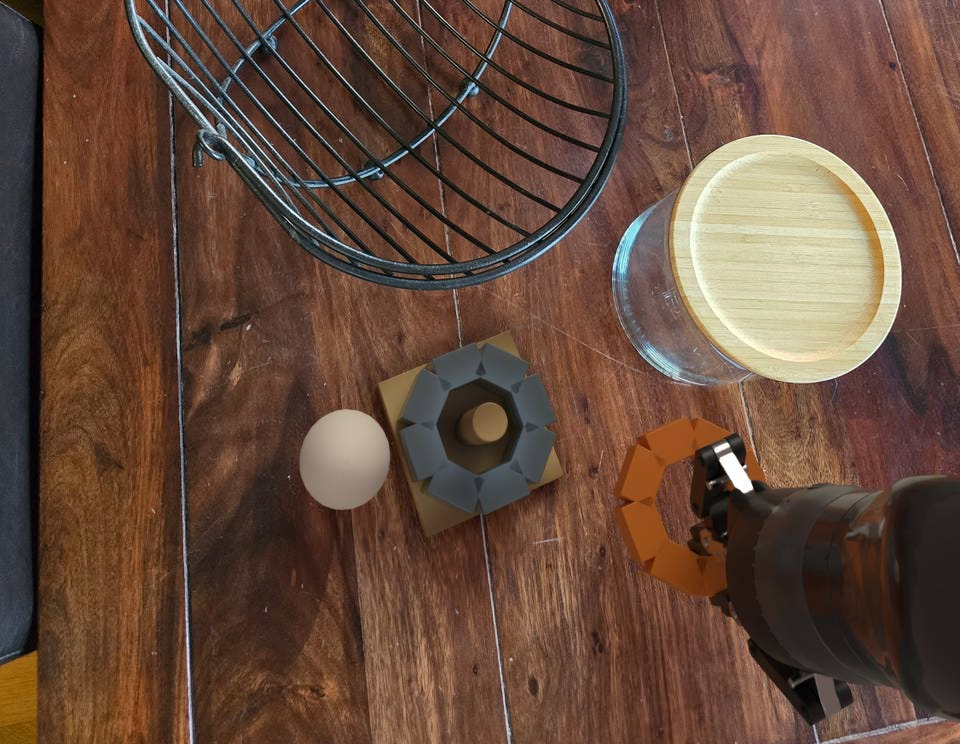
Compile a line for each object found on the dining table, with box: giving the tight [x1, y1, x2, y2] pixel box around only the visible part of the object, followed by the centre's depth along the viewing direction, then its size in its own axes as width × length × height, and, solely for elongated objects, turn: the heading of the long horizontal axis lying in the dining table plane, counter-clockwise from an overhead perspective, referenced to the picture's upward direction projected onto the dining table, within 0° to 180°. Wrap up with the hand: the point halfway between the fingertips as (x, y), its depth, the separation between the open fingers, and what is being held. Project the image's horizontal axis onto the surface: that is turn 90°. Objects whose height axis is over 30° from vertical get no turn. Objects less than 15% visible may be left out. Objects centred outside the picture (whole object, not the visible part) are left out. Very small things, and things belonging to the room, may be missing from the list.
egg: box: [299, 408, 391, 511], centre depth 67 cm, size 5×5×7 cm
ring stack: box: [376, 329, 565, 538], centre depth 68 cm, size 9×9×9 cm
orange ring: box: [612, 416, 769, 598], centre depth 67 cm, size 9×9×2 cm
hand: (713, 565), depth 66 cm, fingers closed on orange ring, 2 cm apart
